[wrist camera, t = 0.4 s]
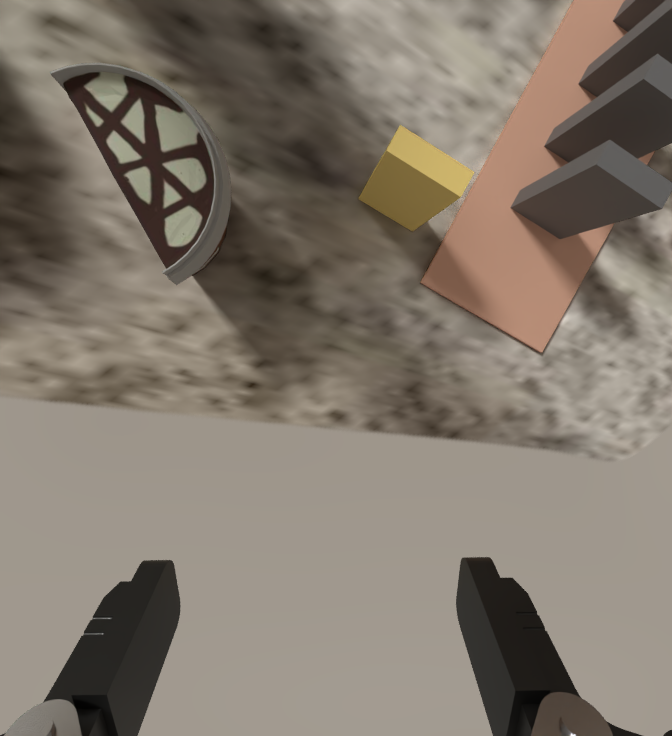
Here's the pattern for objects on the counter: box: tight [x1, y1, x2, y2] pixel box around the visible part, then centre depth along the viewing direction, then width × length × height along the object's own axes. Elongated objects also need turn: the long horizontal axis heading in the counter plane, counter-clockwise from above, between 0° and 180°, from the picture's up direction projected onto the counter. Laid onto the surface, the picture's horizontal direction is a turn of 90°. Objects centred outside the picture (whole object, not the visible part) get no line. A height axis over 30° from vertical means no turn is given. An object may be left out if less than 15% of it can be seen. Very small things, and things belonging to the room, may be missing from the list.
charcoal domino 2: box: [544, 54, 672, 163], centre depth 31 cm, size 2×5×10 cm, turn 61°
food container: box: [50, 63, 231, 285], centre depth 28 cm, size 12×6×10 cm, turn 27°
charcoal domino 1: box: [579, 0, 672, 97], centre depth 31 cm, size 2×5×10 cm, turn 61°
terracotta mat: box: [420, 0, 655, 353], centre depth 36 cm, size 30×12×1 cm, turn 151°
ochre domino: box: [358, 125, 474, 232], centre depth 30 cm, size 2×5×10 cm, turn 61°
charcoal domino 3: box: [510, 140, 672, 239], centre depth 31 cm, size 2×5×10 cm, turn 61°
